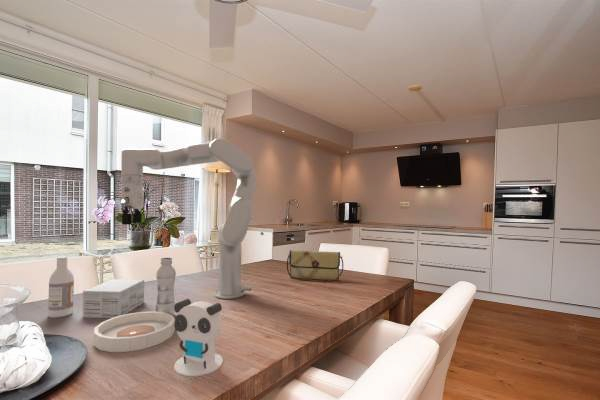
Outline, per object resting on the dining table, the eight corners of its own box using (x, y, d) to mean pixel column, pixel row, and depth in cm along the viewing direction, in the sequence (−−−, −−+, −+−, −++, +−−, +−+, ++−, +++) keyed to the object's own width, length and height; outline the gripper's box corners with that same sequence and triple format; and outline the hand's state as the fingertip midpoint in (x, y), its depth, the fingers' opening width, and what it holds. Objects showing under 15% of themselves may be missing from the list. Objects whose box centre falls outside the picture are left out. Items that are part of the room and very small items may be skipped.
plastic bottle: (155, 320, 106) (156, 260, 106) (154, 314, 112) (155, 257, 112) (176, 317, 109) (177, 259, 109) (174, 311, 115) (175, 256, 115)
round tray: (181, 321, 106) (181, 310, 106) (163, 349, 85) (163, 336, 85) (113, 323, 103) (114, 312, 103) (78, 353, 82) (78, 340, 82)
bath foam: (70, 316, 109) (72, 258, 109) (45, 319, 106) (47, 259, 106) (74, 310, 115) (76, 255, 116) (51, 312, 112) (52, 256, 112)
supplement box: (111, 302, 125) (111, 278, 125) (144, 303, 125) (145, 279, 125) (81, 317, 108) (81, 290, 109) (119, 318, 108) (120, 291, 108)
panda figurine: (161, 369, 75) (162, 306, 75) (193, 349, 86) (194, 293, 86) (203, 380, 71) (204, 313, 71) (231, 357, 82) (232, 299, 82)
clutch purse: (285, 280, 165) (285, 251, 165) (287, 277, 172) (288, 249, 172) (342, 283, 160) (343, 253, 161) (343, 280, 167) (343, 251, 168)
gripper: (133, 178, 117) (133, 225, 117) (150, 181, 135) (150, 222, 135) (111, 178, 117) (111, 225, 117) (131, 181, 134) (131, 222, 134)
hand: (132, 223), depth 126 cm, fingers open, 9 cm apart
